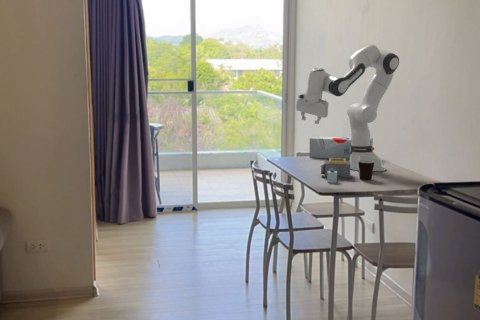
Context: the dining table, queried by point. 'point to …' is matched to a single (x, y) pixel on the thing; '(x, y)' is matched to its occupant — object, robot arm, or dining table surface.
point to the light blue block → (332, 176)
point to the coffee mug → (365, 169)
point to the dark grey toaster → (337, 167)
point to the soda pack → (331, 147)
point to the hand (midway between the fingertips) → (310, 121)
